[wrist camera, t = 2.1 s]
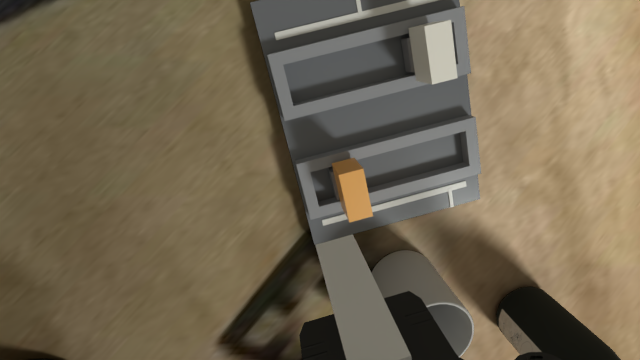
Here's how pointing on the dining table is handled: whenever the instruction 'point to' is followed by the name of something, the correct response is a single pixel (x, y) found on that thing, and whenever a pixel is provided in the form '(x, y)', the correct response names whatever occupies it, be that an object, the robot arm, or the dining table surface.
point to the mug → (426, 294)
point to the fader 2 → (430, 52)
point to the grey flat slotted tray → (369, 107)
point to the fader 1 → (351, 189)
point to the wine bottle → (547, 328)
